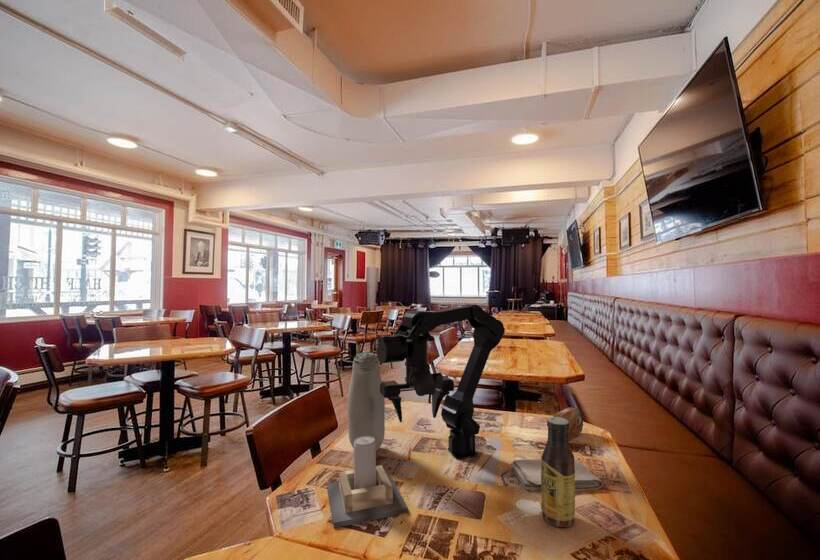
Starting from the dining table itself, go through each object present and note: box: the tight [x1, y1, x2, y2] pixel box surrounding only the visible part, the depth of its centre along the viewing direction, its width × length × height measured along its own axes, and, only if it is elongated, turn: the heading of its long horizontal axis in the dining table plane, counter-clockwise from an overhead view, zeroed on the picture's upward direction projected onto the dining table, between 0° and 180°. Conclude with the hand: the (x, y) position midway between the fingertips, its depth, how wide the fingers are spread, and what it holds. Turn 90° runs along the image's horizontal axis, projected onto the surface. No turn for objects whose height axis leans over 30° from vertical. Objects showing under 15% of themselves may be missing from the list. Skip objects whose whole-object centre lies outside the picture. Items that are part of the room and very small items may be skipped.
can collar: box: [326, 465, 409, 529], centre depth 82 cm, size 15×15×4 cm
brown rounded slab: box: [552, 406, 584, 442], centre depth 113 cm, size 15×3×8 cm, turn 129°
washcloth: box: [511, 458, 604, 493], centre depth 90 cm, size 12×18×3 cm, turn 94°
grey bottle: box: [347, 351, 386, 452], centre depth 106 cm, size 10×10×28 cm
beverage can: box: [353, 436, 377, 490], centre depth 82 cm, size 5×5×12 cm
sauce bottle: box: [540, 416, 576, 528], centre depth 74 cm, size 7×6×20 cm
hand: (417, 419), depth 97 cm, fingers open, 9 cm apart
